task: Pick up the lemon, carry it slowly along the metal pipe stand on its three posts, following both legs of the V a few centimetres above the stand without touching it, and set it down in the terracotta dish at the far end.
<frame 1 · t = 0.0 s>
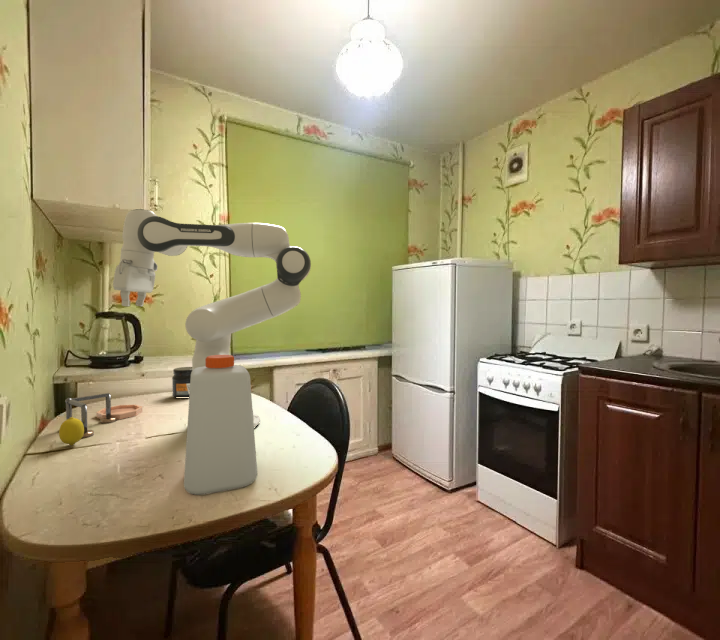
hand: (132, 306, 117), 39 cm above the table, tool pointing down, fingers open, 8 cm apart
supplement container: (186, 396, 161), on the table
plastic bottle: (220, 479, 85), on the table
lemon: (72, 446, 104), on the table
metal pipe stand: (86, 428, 118), on the table
terracotta dish: (120, 414, 134), on the table
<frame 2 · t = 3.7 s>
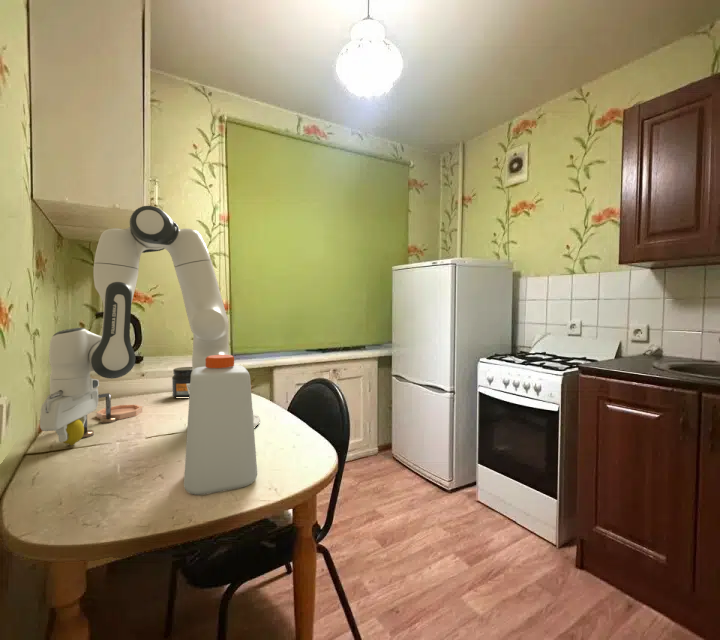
hand: (71, 436, 104), 3 cm above the table, tool pointing down, fingers closed on lemon, 5 cm apart
lemon: (72, 446, 104), on the table, touching gripper
everything else where it was.
when the fingers open (5 cm above the table, at t = 17.6 s): lemon stays where it is, resting on terracotta dish.
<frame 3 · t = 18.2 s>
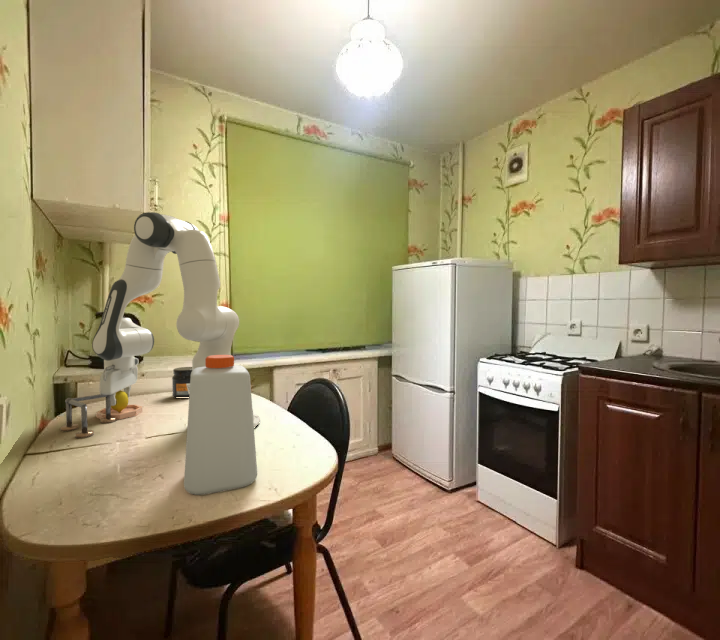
hand: (119, 401, 133), 5 cm above the table, tool pointing down, fingers open, 8 cm apart
lemon: (119, 412, 133), point 1 cm above the table, touching terracotta dish
everything else where it was.
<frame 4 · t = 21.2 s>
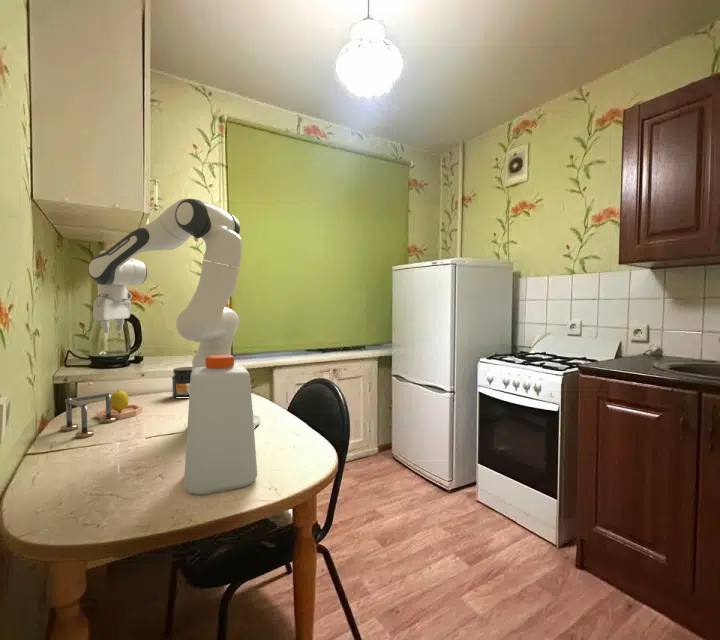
hand: (113, 331, 139), 29 cm above the table, tool pointing down, fingers open, 8 cm apart
nothing on the table moved.
at the end: lemon 0.1 cm off-centre on the terracotta dish, point 0.6 cm above the terracotta dish's base; lemon touching terracotta dish; the gripper is holding nothing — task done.
